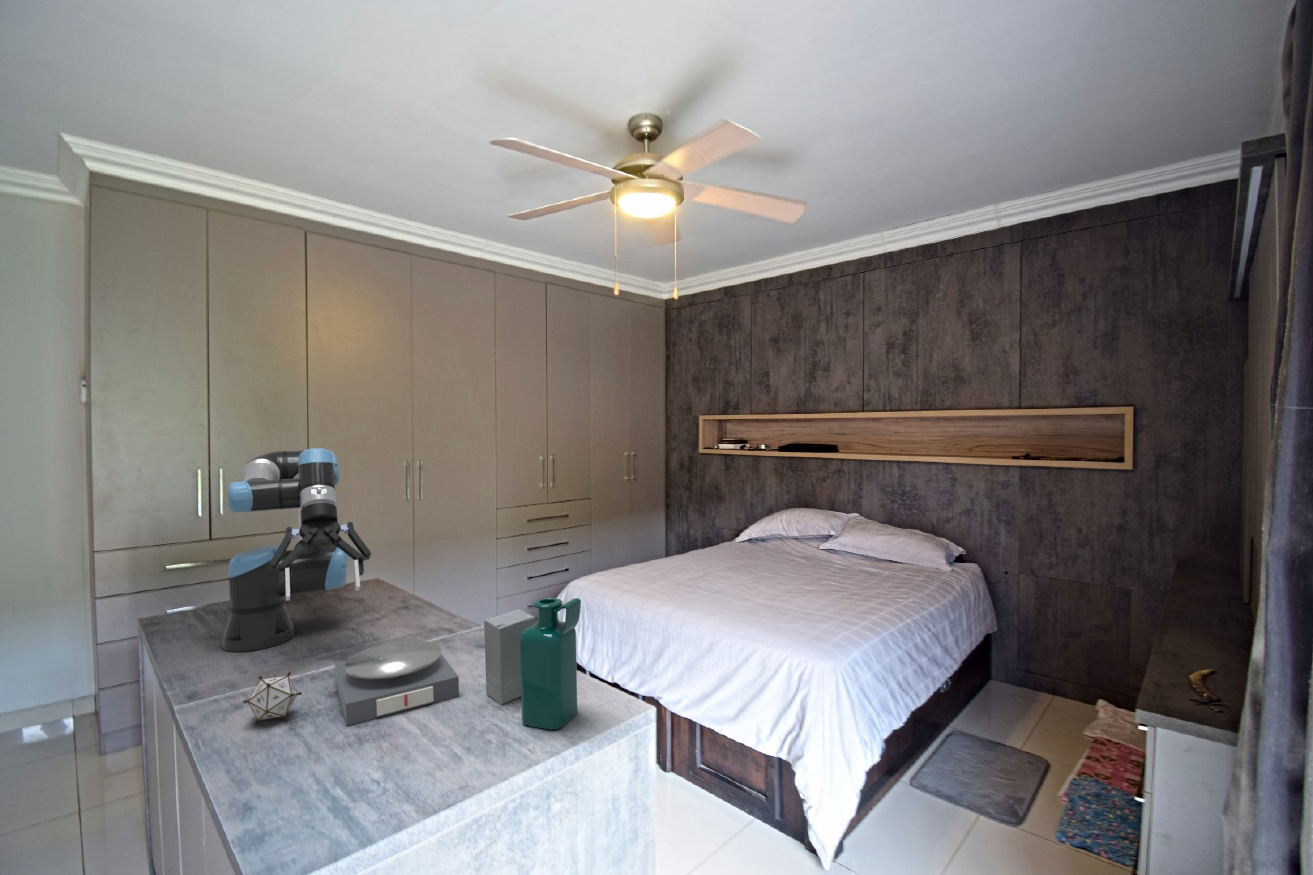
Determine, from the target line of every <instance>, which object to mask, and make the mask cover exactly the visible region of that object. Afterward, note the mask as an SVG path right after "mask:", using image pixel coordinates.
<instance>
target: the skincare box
mask: <svg viewBox="0 0 1313 875" xmlns="http://www.w3.org/2000/svg"><path fill="white" fill-rule="evenodd" d="M483 621H484V622H483V624H484V625H483V626H484V657H485V658H484V659H485V664H484V665H485V685H486V686H485V690H486V691H485V692H486V695H487V696H489V697H491V699H493V700H494V701H496V702H497V703H498V704H500V705H505V704H507V703H509V702H512V701H513V700H516V699H518V698H521V663H520V637H521V634H522V632H523V631H524V630H525V629H527V628H528V627H530V626H532V625H533V624H535V623H536V617H535V616H534V615H532V614H530V613H528V612H525V611H524V610H522V609H519V608H518V609H514V610H512V611H511V610H510V611H508V612H506V613H503V614H499V615H496V616H492V617H488V618H485V619H484V620H483Z"/></svg>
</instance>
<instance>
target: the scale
mask: <svg viewBox="0 0 1313 875" xmlns="http://www.w3.org/2000/svg"><path fill="white" fill-rule="evenodd" d="M346 661H347V660H345V661H340V662H335V663H334V672H335V673H334V674H335V675H334V676H335V677H334V678H335V685H336V690H337V693H338V694H337V695H338V697H339V701H340V704H341V705H340V706H341V710H342V713H343V718H344V721H345V725H346V727H348V726H351V725H356V724H360V723H363V722H367V721H370V720H374V719H377V718H381V717H382V718H383V717H385V716H389V715H393V714H397V713H401V712H405V711H409V710H413V709H417V708H420V707H424V706H428V705H432V704H436V703H439V702H442V701H446V700H447V701H448V700H451V699H454V698H458V697H460V680H459V679H460V678H459V675H458V674H457V672H456V671H455V670H454V668H453V667H452V665H451V664H450V662H448V660H447V659H446V658H445V656H444V655H443V654H442V653H441V656H440V658H439V659H438V660H437V661H436V662H435V663H434V664H432V665H430V666H428V667H427V668H424V669H422V670H420V671H417V672H414V673H411V674H407V675H403V676H398V677H393V678H385V679H360V678H355V677H352V676H350V675H348V674H347V673H346V671H345V663H346Z"/></svg>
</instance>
